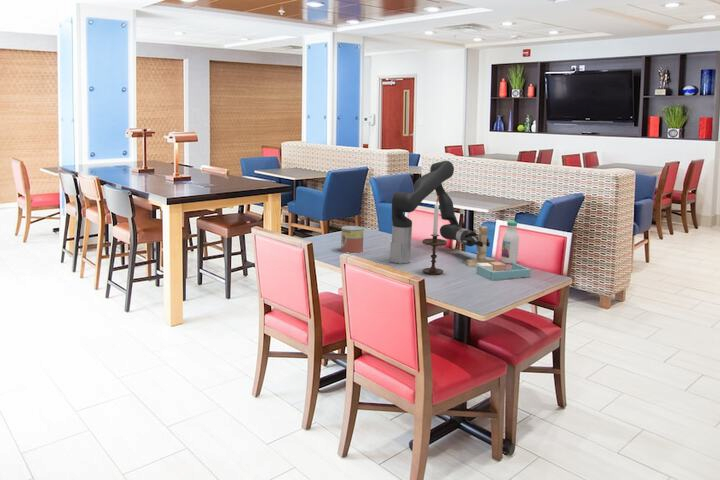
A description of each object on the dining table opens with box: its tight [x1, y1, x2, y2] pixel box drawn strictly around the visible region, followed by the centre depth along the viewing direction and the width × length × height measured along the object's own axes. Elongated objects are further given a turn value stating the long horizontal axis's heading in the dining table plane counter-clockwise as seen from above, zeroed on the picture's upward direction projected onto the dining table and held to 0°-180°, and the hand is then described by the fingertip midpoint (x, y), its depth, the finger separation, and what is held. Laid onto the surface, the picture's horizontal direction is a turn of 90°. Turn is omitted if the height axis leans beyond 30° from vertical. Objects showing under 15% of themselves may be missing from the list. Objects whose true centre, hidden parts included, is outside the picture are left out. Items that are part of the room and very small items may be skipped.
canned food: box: [340, 225, 365, 255], centre depth 323 cm, size 11×11×12 cm
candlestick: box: [421, 196, 448, 276], centre depth 285 cm, size 11×11×35 cm
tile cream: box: [475, 263, 494, 272], centre depth 295 cm, size 6×6×3 cm
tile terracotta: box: [490, 261, 507, 271], centre depth 298 cm, size 6×6×3 cm
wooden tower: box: [465, 225, 496, 268], centre depth 303 cm, size 3×14×18 cm, turn 112°
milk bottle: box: [500, 220, 520, 264], centre depth 310 cm, size 8×8×20 cm
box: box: [476, 263, 532, 281], centre depth 287 cm, size 12×20×4 cm, turn 112°
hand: (485, 244), depth 300 cm, fingers closed on wooden tower, 3 cm apart
